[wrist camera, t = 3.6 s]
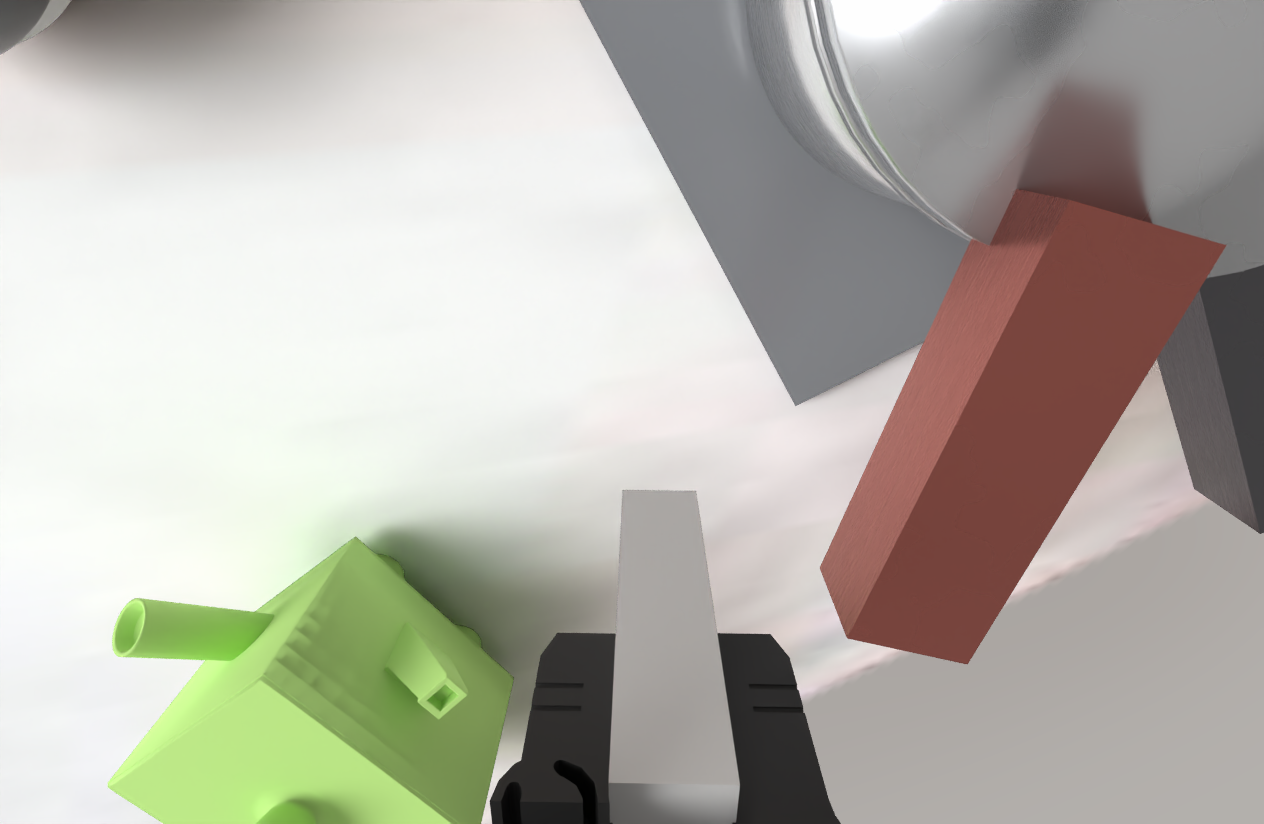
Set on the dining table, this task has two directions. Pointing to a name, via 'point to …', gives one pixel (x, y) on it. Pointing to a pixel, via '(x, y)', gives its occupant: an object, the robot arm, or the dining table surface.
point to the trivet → (776, 199)
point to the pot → (821, 124)
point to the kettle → (318, 706)
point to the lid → (1033, 266)
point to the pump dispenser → (26, 19)
